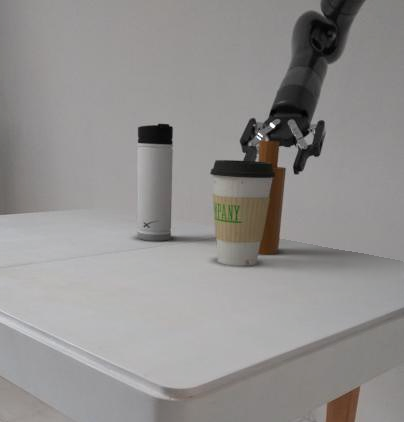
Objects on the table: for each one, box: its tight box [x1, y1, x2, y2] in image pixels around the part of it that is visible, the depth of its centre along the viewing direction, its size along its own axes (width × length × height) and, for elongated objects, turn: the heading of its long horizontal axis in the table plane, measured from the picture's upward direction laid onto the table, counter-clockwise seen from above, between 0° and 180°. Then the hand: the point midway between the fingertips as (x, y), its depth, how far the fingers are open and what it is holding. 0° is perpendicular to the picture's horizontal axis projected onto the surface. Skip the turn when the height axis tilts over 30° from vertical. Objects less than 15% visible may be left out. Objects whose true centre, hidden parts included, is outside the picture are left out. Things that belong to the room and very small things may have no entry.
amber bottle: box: [257, 140, 287, 255], centre depth 96 cm, size 6×6×18 cm
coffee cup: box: [209, 159, 275, 267], centre depth 87 cm, size 10×10×15 cm
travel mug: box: [137, 123, 174, 242], centre depth 103 cm, size 6×7×20 cm
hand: (271, 169), depth 96 cm, fingers open, 8 cm apart
